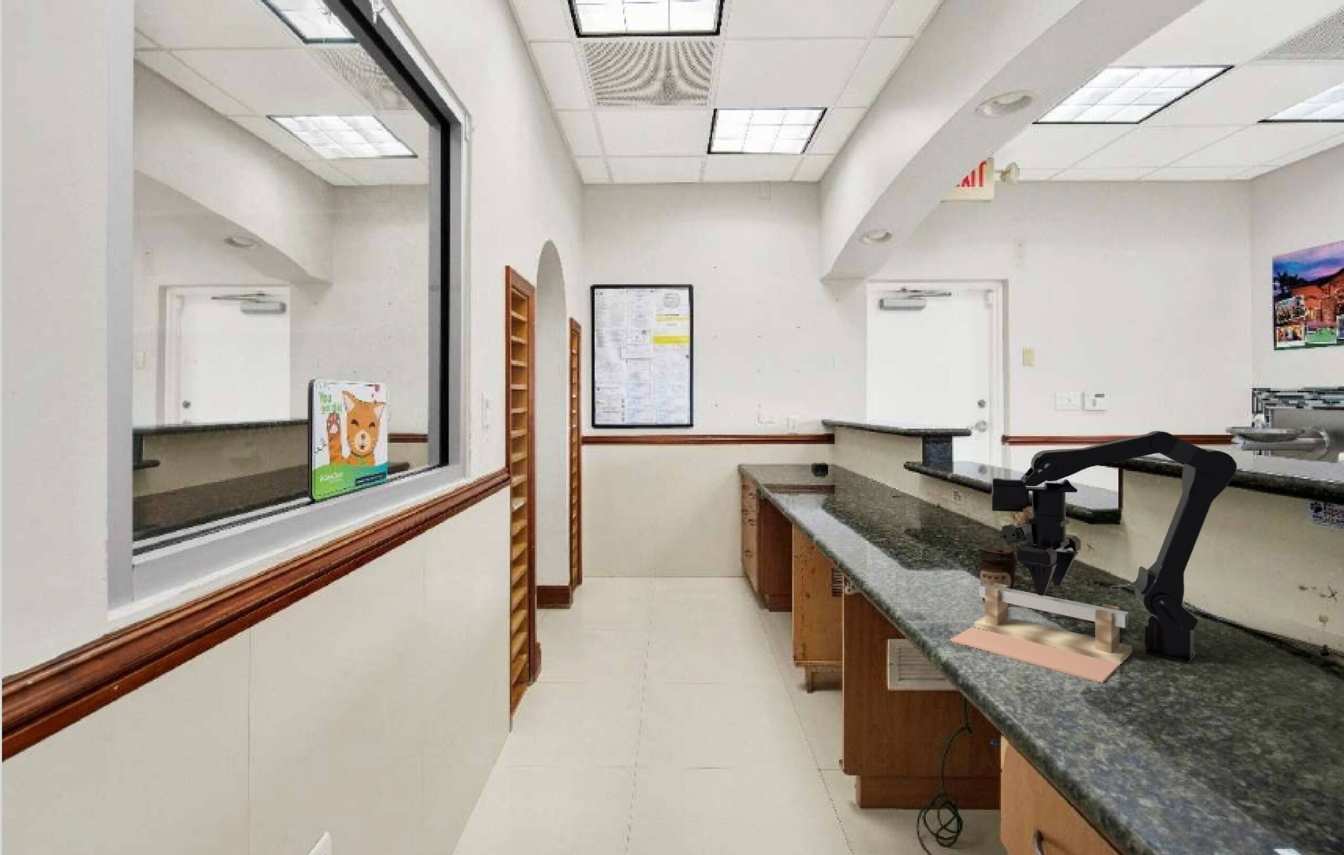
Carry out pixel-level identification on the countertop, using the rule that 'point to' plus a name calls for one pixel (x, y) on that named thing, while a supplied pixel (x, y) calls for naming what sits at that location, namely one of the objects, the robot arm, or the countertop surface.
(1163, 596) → the robot arm
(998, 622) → the hook stand
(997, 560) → the coffee cup
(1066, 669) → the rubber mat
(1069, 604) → the steel rail
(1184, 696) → the countertop surface
